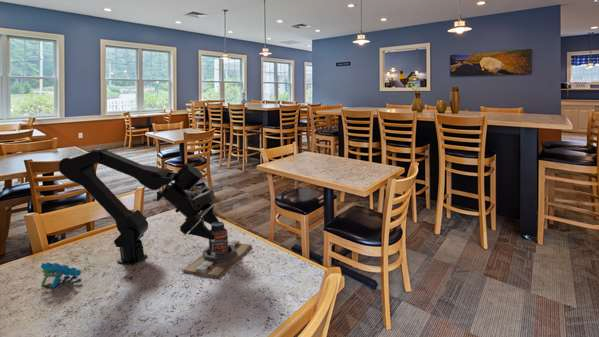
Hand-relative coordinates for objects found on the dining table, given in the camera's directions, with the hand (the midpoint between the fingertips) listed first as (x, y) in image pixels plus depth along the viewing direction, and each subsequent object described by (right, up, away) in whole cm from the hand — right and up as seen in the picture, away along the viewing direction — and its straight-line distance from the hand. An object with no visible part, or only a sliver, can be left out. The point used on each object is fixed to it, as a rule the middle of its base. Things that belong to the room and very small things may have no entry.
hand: (217, 233), depth 108 cm
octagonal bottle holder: (0, -9, +2) cm, 9 cm away
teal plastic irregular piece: (-42, -12, -11) cm, 45 cm away
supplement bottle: (0, -8, +2) cm, 8 cm away
